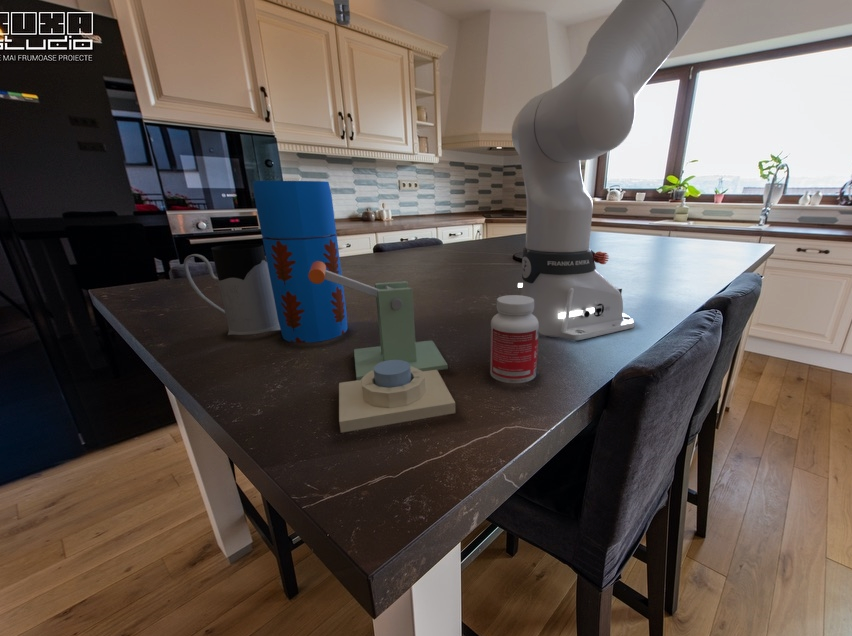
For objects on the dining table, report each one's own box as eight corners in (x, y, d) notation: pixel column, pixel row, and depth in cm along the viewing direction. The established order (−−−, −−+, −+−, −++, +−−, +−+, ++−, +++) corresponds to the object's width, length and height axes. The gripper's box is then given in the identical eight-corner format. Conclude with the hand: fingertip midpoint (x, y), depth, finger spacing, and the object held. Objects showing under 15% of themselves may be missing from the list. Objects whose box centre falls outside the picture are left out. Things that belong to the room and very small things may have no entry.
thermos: (326, 350, 63) (301, 180, 54) (267, 345, 65) (233, 180, 56) (359, 328, 73) (342, 182, 64) (307, 324, 75) (283, 182, 66)
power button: (408, 371, 47) (407, 357, 46) (413, 386, 43) (413, 371, 43) (373, 376, 46) (372, 362, 45) (376, 391, 42) (375, 376, 42)
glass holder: (267, 340, 67) (248, 250, 61) (184, 340, 67) (158, 250, 62) (291, 324, 75) (276, 243, 70) (217, 323, 75) (197, 243, 70)
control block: (437, 384, 52) (436, 356, 50) (455, 419, 44) (454, 387, 42) (341, 398, 48) (337, 369, 47) (341, 440, 40) (336, 405, 39)
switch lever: (305, 283, 47) (312, 264, 46) (308, 273, 52) (314, 256, 51) (403, 316, 52) (410, 299, 51) (397, 304, 57) (403, 289, 57)
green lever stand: (357, 387, 51) (346, 298, 47) (354, 358, 60) (345, 281, 56) (447, 374, 54) (445, 290, 50) (432, 348, 63) (429, 275, 59)
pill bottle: (542, 386, 51) (547, 304, 47) (496, 391, 50) (498, 307, 46) (526, 367, 57) (530, 292, 53) (485, 371, 55) (485, 294, 51)
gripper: (364, -230, 35) (377, -30, 39) (356, -85, 53) (366, 40, 58) (285, -255, 33) (309, -42, 38) (305, -96, 51) (319, 34, 56)
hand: (343, 8), depth 48 cm, fingers open, 8 cm apart
